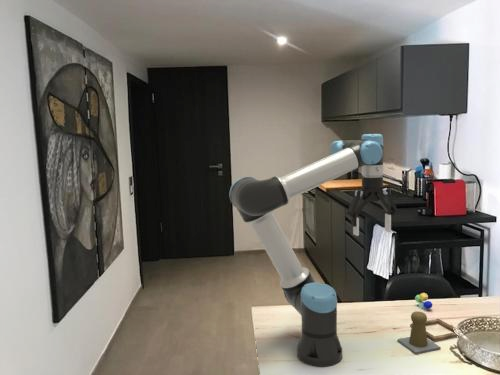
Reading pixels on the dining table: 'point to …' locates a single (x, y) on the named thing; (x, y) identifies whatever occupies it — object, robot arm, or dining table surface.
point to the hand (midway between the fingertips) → (372, 233)
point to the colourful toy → (422, 298)
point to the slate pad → (418, 350)
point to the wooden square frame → (440, 337)
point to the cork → (418, 330)
